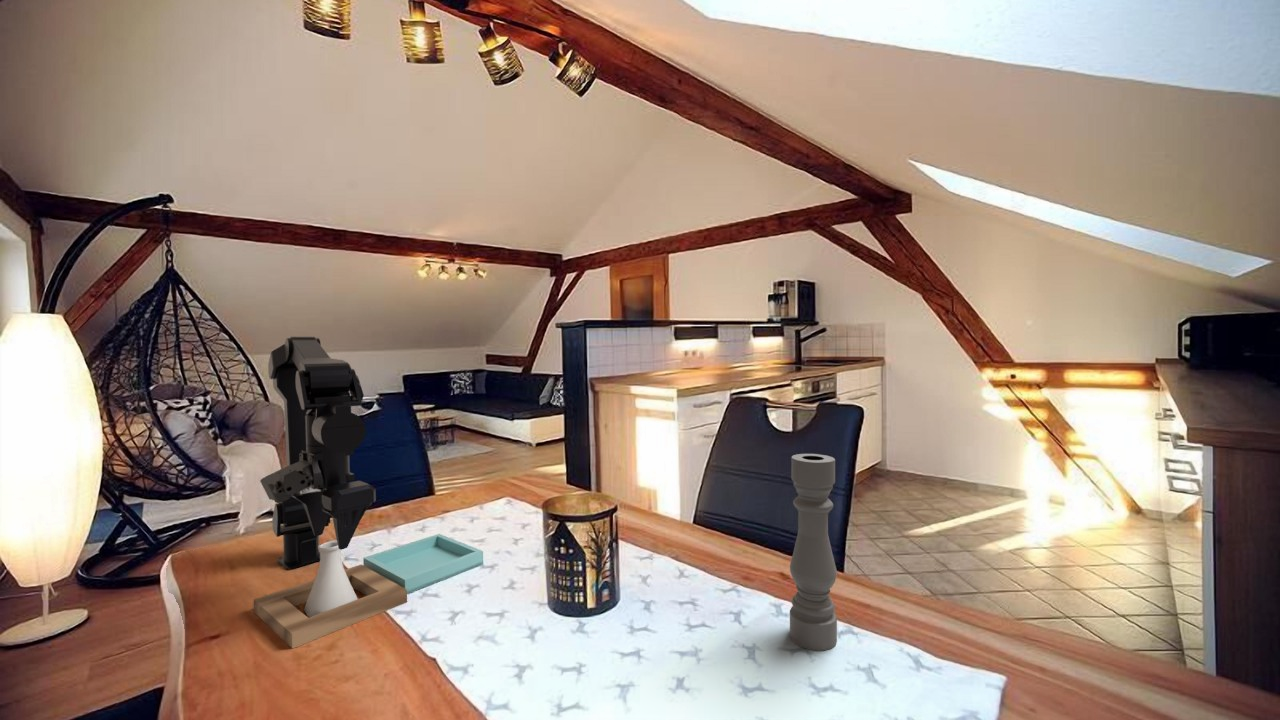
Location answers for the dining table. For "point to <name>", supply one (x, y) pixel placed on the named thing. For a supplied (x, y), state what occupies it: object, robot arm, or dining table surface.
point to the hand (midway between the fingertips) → (330, 541)
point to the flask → (329, 582)
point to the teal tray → (424, 561)
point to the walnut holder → (302, 629)
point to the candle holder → (813, 554)
